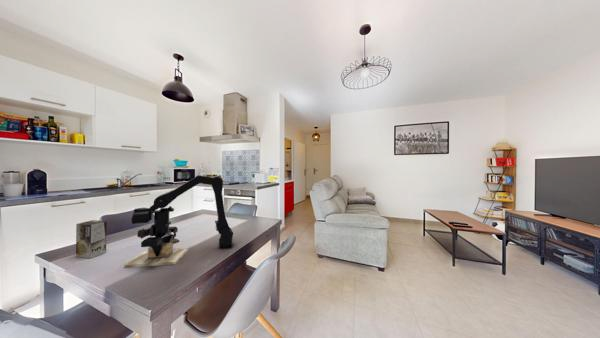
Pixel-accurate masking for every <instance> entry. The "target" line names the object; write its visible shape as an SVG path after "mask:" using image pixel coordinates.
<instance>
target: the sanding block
mask: <svg viewBox="0 0 600 338" xmlns="http://www.w3.org/2000/svg"><path fill="white" fill-rule="evenodd" d="M173 250H174V244H173V243H164V244H163V247H162V250H161V252H160V255H159V256H158V257H156V256H155V253H154V251H153V249H152V247H147V251H148V259H155V258H167V257H169V256H170V255H171V254H172V253H173Z"/></svg>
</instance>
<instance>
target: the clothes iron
mask: <svg viewBox="0 0 600 338" xmlns="http://www.w3.org/2000/svg"><path fill="white" fill-rule="evenodd" d="M172 233H173V232H171V234H172ZM173 234H174V236H173V238H172V239H171V241H170V243H173V245H175V244H177V243H179V242H180V240H179V239H178V238H176V237H177V232H176V233H173Z"/></svg>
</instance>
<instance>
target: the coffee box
mask: <svg viewBox="0 0 600 338" xmlns="http://www.w3.org/2000/svg"><path fill="white" fill-rule="evenodd" d="M107 224H108V221H107V220H97V219H95V220H94V219H93V220H88V221H83V222H80V223H76V224H75V227H76V230H75V231H76V232H75V238H76V239H75V242H76V244H75V257H76V258H83V259H92V258H95V257H98V256H101V255H103V254H106V253H107V237H108V236H107V234H108V233H107V231H108V229H107V226H108V225H107Z"/></svg>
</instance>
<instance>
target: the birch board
mask: <svg viewBox="0 0 600 338" xmlns="http://www.w3.org/2000/svg"><path fill="white" fill-rule="evenodd" d="M188 251H189V248H176V249H174V248H173V253H172V254H171V255H170V256H169V257H167V258H155V259H148V250H144V251H142V252H141V253H139V254H138V255H137V256H136V257H134V258H132V259H131V260H130V261H128V262H127V263H125V264H124V265H123V269H126V268H139V267H140V268H141V267H142V268H144V267H154V266H167V265H169V266H170V265H176V264H177V262H179V261H180V260H181V259H182V258H183V257H184V256H185V255H186V254H187V252H188Z"/></svg>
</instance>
